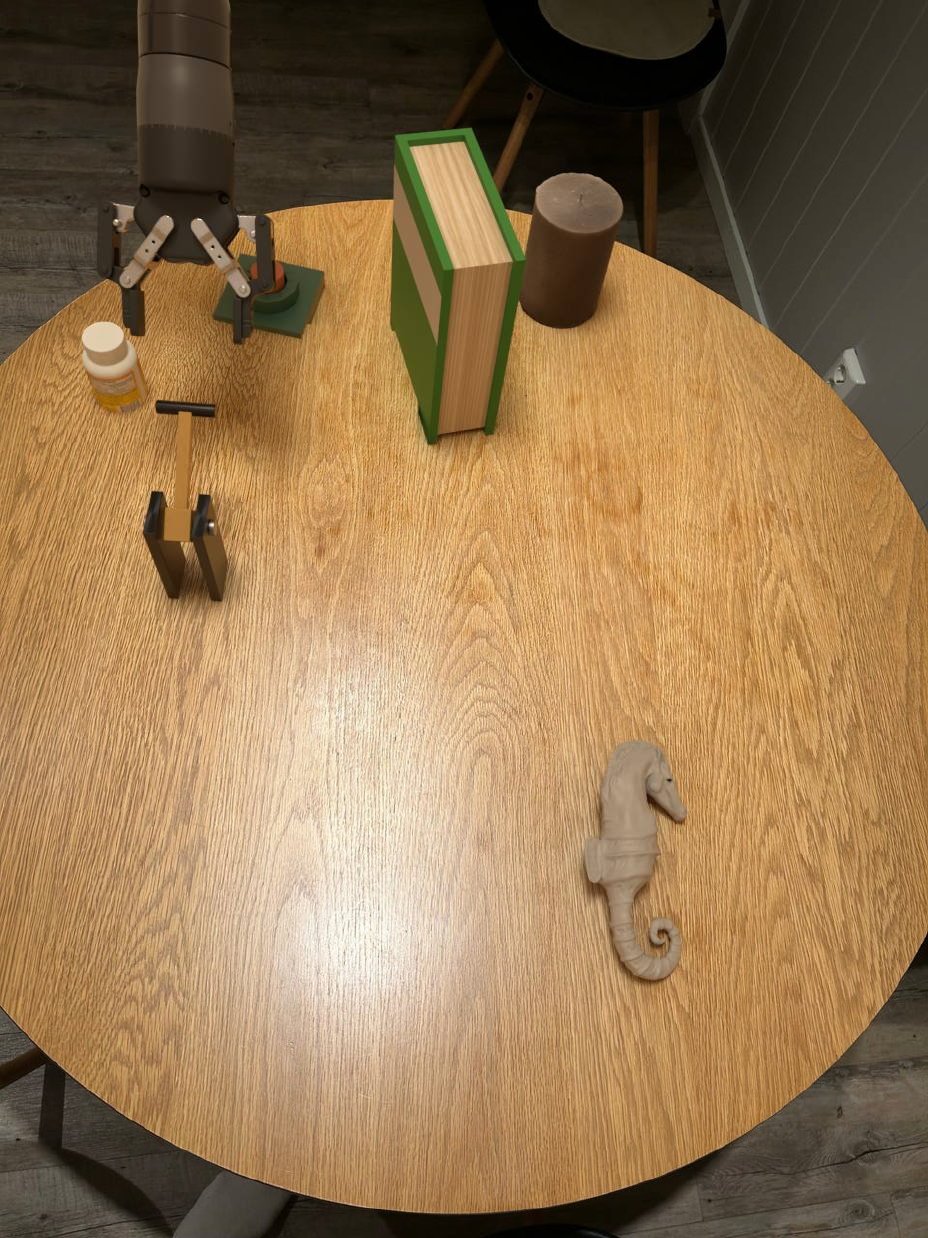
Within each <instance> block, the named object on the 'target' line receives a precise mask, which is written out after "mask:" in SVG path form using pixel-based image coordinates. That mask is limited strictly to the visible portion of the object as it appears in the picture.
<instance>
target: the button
mask: <svg viewBox="0 0 928 1238" xmlns="http://www.w3.org/2000/svg"><path fill="white" fill-rule="evenodd" d="M277 261H278V260H277ZM277 261H275V264H276V289H275V290H274V291H272V292H267V293H264V294H273V293H277V292H279V291H280V290H281V289H282V288H283V287H284V284H285V279H284V270H283V267H282V265H281V264H280V263H278V262H277ZM256 278H257V262H256V263H254V264H253V265H252V267H251V279H252V280H253V279H256Z"/></svg>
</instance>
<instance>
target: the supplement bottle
mask: <svg viewBox="0 0 928 1238" xmlns="http://www.w3.org/2000/svg"><path fill="white" fill-rule="evenodd" d="M81 343H82V346H83V351H82V354H81V363H82V365H83V368H84V371H85V374H86V377H87V379H88V381H89V384H90V386H91V389H92V391H93V394H94V397H95V399H96V401H97V403H98V405H99V406H100V407H101V408H102V409H104V410H106V411H108V412H111V413H116V414H123V413H130V412H133V411H135V410H136V409H138V408H140V407H141V406H142V405H143V404H144V403H145V401H146V399H147V398H148V394H149V391H148V390H149V389H148V385H147V382H146V379H145V375H144V371H143V368H142V364H141V362H140V358H139V355H138V352H137V349H136V347H135V345H134V344H133V343H131V341H129V340H128V339H127V338H126V335H125V333H124V331H123V329H122V327H120V325H118V324H116V323H114V322H111V321H98V322H94V323H91V324H90V325H88V326H87V327H86V328H84V330H83V332H82V334H81Z"/></svg>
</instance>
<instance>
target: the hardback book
mask: <svg viewBox="0 0 928 1238" xmlns="http://www.w3.org/2000/svg"><path fill="white" fill-rule="evenodd" d="M393 159H394V161H393V163H394V164H393V198H392V200H393V201H392V232H391V233H392V235H391V236H392V237H391V238H392V240H391V271H390V273H391V275H390V277H391V278H390V310H389V311H390V312H389V315H390V316H389V325H390V329H391V332H395V335H396V338H397V341H398V344H399V347H400V350H401V354H402V357H403V360H404V364H405V367H406V369H407V373H408V376H409V379H410V382H411V385H412V388H413V391H414V395H415V398H416V402H417V404H418V405H417V406H418V407H417V414H418V417H419V420H420V424H421V427H422V430H423V433H424V437H425V439H426V443H427V446H431V445H436V444H437V443H438V442H437V441H438V436H439V435H443V434H450V433H454V432H461V431H467V430H468V431H469V430H473V429H479V428H482V430H483V432H484V435H485V436H490V435H494V434H495V429H496V423H497V420H498V419H497V418H498V414H499V409H500V408H499V407H500V402H501V396H502V391H503V387H504V380H505V375H506V370H507V365H508V361H509V360H508V359H509V355H510V348H511V343H512V338H513V333H514V327H515V323H516V318H517V317H516V316H517V313H518V307H519V302H520V300H519V296H520V290H521V285H522V280H523V274H524V269H525V264H526V258H525V252H524V251H523V248H522V246H521V243H520V241H519V240H518V236H517V234H516V231H515V230H514V226H513V225H512V222H511V220H510V217H509V214H508V212H507V210H506V208H505V205H504V202H503V200H502V198H501V196H500V193H499V190H498V188H497V186H496V183H495V181H494V178H493V175H492V174H491V171H490V169H489V167H488V164H487V162H486V160H485V157H484V155H483V151H482V150H481V148H480V145H479V143H478V140H477V138H476V135H475V133H474V131H473V128H472V127H465V128H455V129H446V130H435V131H425V132H415V133H404V134H394V158H393Z"/></svg>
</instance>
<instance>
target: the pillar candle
mask: <svg viewBox="0 0 928 1238" xmlns="http://www.w3.org/2000/svg"><path fill="white" fill-rule="evenodd" d="M623 213H624V204H623V200H622V198H621V196H620V194H619V193H618V192H617V190H616V189H615V188H614V187H612V185H611V184H609V183H608V182H606V181H604V180H603V179H602V178H601V177H598V176H594V175H592V174H589V173H576V172H568V173H567V172H566V173H565V172H563V173H560V174H557V175H555V176H551V177H549V178H548V179H546V180H544V181H543V182H542V183H541V184H540V185H538V186H537V187H536V189H535V198H534V203H533V208H532V215H531V220H530V223H529V224H530V225H529V231H528V237H527V242H526V246H525V252H524V256H525V258H526V264H525V269H524V274H523V280H522V285H521V290H520V296H519V302H520V306H521V307H522V309H523V310H524V311H525V312H526V313H527V314H528V316H530V317H532V318H533V319H534V320H535V321H537V322H538V323H541V324H543V325H545V326H548V327H553V328H561V329H562V328H563V329H564V328H570V327H571V328H572V327H577V326H581V325H583V324H584V323H585V322H587V321H588V320H589V319H590V318H592V317H593V315H594V314H595V312H596V310H597V308H598V304H599V299H600V297H601V294H602V291H603V286H604V282H605V279H606V276H607V272H608V268H609V264H610V260H611V257H612V252H613V249H614V246H615V242H616V239H617V234H618V231H619V228H620V224H621V220H622V217H623Z"/></svg>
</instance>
